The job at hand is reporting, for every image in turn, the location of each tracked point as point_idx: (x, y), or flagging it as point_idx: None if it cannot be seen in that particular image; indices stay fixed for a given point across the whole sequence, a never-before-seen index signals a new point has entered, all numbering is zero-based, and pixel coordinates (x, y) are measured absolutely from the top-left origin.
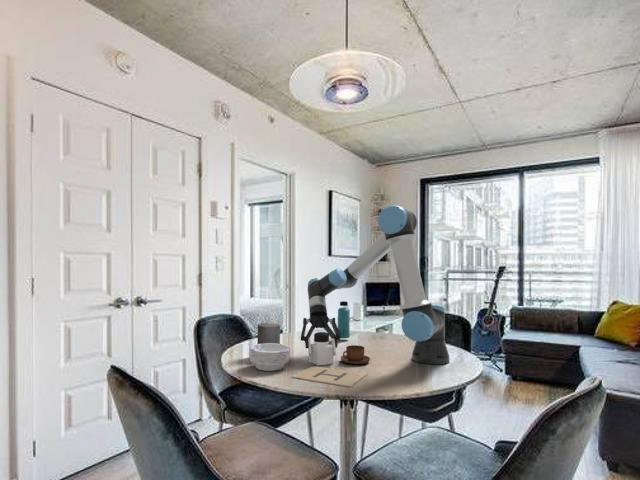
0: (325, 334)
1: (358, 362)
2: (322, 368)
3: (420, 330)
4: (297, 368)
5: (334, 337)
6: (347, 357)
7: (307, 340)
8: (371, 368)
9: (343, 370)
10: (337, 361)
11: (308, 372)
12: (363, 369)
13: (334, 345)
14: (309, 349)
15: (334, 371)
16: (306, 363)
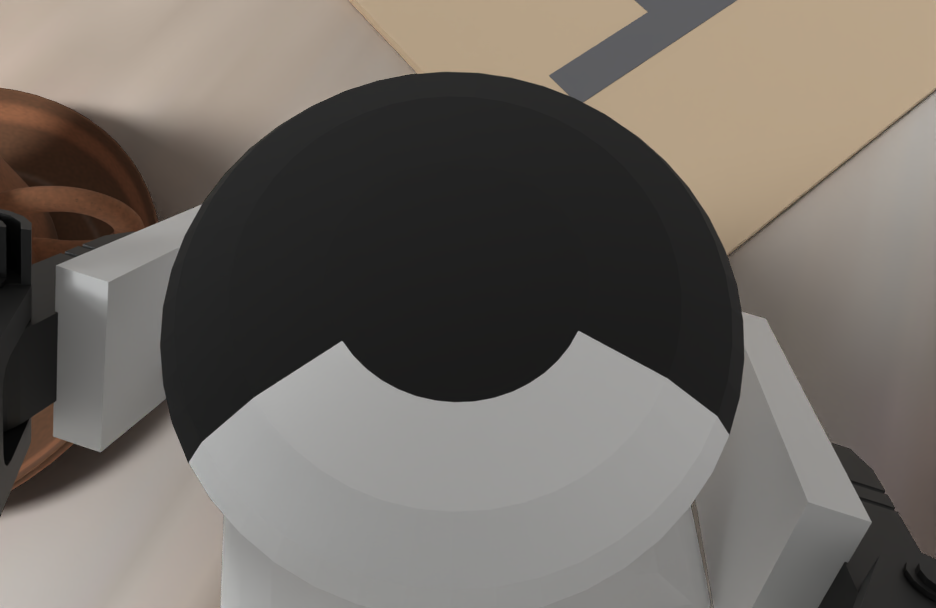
0: (408, 83)
1: (43, 104)
2: None
3: None
4: (878, 339)
5: (29, 262)
6: (70, 242)
7: (864, 552)
8: (6, 10)
9: (379, 15)
10: (160, 460)
11: (794, 90)
12: (118, 12)
13: None
14: (775, 345)
15: (493, 22)
16: None
